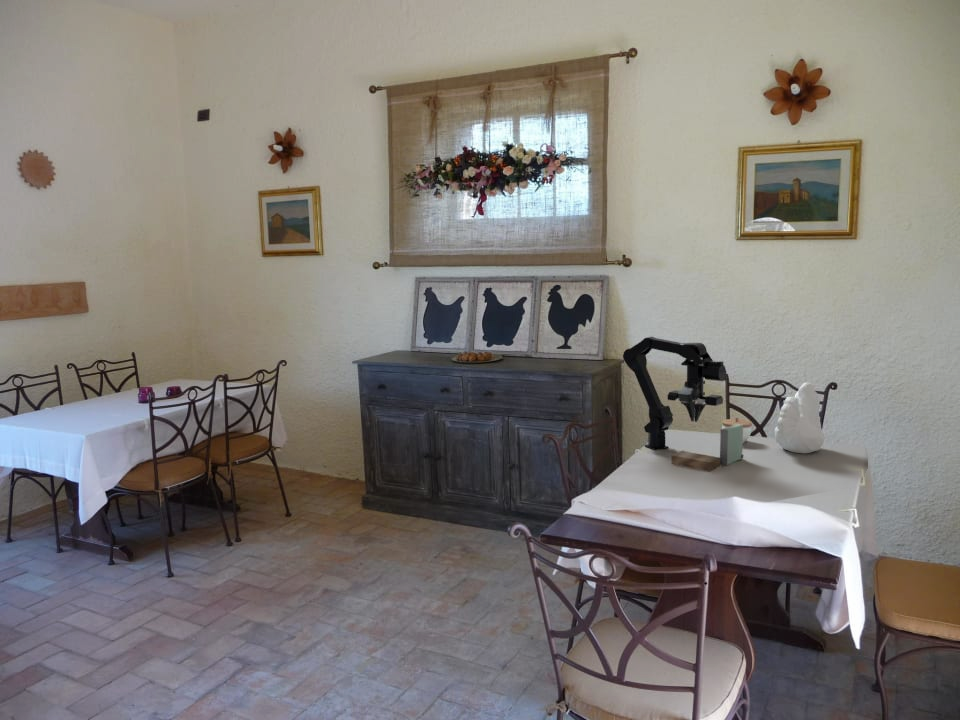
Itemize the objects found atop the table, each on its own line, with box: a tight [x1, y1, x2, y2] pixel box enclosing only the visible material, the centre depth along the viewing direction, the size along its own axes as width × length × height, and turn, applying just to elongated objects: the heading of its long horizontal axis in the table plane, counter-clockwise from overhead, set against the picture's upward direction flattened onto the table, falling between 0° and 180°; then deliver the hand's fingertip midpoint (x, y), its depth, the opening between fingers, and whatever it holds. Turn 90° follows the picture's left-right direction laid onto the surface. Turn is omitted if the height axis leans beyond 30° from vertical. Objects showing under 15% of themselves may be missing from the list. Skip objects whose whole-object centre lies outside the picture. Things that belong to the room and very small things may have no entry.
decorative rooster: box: [774, 381, 825, 454], centre depth 255 cm, size 25×16×25 cm, turn 120°
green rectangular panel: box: [719, 424, 744, 466], centre depth 244 cm, size 13×2×12 cm, turn 134°
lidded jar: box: [721, 417, 753, 444], centre depth 272 cm, size 11×11×9 cm
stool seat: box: [670, 450, 721, 472], centre depth 242 cm, size 14×8×3 cm, turn 46°
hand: (694, 421), depth 254 cm, fingers closed
